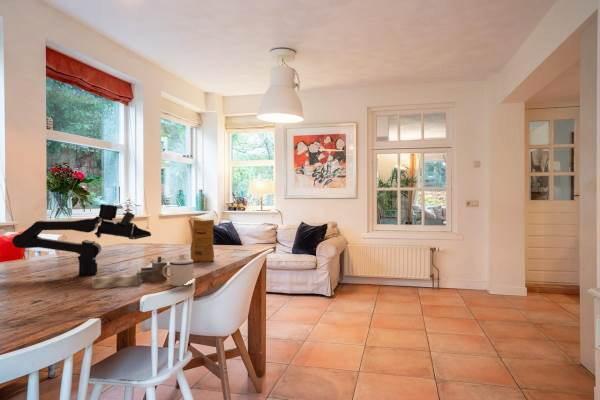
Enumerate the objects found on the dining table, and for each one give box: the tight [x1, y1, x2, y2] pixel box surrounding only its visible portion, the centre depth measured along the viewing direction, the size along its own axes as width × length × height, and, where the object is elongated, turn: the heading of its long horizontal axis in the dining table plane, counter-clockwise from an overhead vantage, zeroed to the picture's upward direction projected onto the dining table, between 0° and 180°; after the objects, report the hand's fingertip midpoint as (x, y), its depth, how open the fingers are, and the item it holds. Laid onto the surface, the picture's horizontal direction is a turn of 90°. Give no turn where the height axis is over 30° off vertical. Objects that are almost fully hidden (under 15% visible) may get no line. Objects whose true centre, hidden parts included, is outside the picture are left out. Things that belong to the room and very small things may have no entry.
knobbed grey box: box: [140, 255, 168, 283], centre depth 162 cm, size 9×9×9 cm
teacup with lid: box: [163, 253, 195, 287], centre depth 153 cm, size 12×9×12 cm
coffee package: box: [190, 219, 215, 263], centre depth 208 cm, size 10×12×22 cm
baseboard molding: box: [134, 258, 171, 274], centre depth 184 cm, size 31×3×12 cm
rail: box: [91, 270, 142, 289], centre depth 149 cm, size 17×4×5 cm, turn 116°
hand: (150, 234), depth 176 cm, fingers open, 9 cm apart
